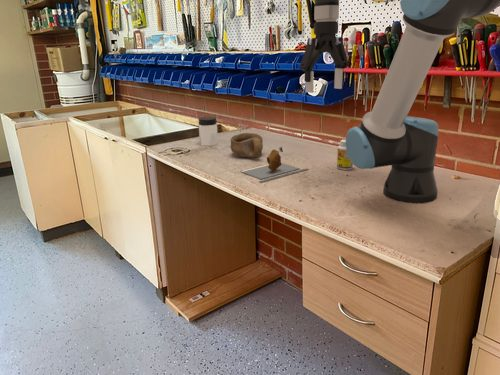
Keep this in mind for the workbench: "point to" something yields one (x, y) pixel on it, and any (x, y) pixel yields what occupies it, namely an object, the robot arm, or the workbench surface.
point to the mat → (268, 171)
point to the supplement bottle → (343, 157)
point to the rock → (274, 159)
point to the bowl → (247, 145)
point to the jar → (208, 131)
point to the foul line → (283, 175)
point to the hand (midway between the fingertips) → (324, 90)
